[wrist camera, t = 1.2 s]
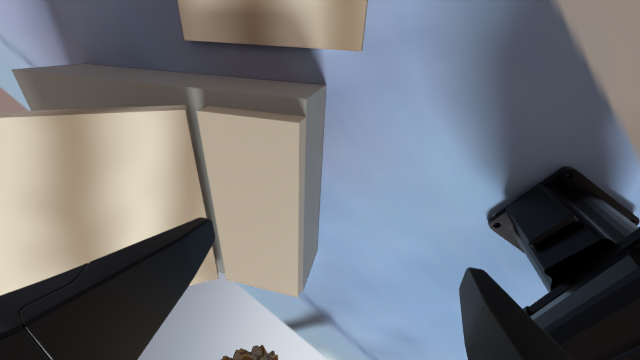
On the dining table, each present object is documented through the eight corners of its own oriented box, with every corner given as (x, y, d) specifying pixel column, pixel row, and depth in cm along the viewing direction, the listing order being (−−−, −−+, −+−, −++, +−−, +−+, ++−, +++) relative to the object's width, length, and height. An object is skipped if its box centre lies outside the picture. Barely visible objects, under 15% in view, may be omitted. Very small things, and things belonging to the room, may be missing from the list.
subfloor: (326, 85, 19) (299, 104, 14) (317, 250, 27) (297, 305, 21) (83, 63, 23) (-13, 71, 18) (136, 212, 31) (80, 250, 25)
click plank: (185, 104, 16) (185, 109, 15) (217, 267, 23) (218, 278, 22) (-133, 117, 12) (-162, 125, 11) (21, 313, 19) (11, 329, 18)
